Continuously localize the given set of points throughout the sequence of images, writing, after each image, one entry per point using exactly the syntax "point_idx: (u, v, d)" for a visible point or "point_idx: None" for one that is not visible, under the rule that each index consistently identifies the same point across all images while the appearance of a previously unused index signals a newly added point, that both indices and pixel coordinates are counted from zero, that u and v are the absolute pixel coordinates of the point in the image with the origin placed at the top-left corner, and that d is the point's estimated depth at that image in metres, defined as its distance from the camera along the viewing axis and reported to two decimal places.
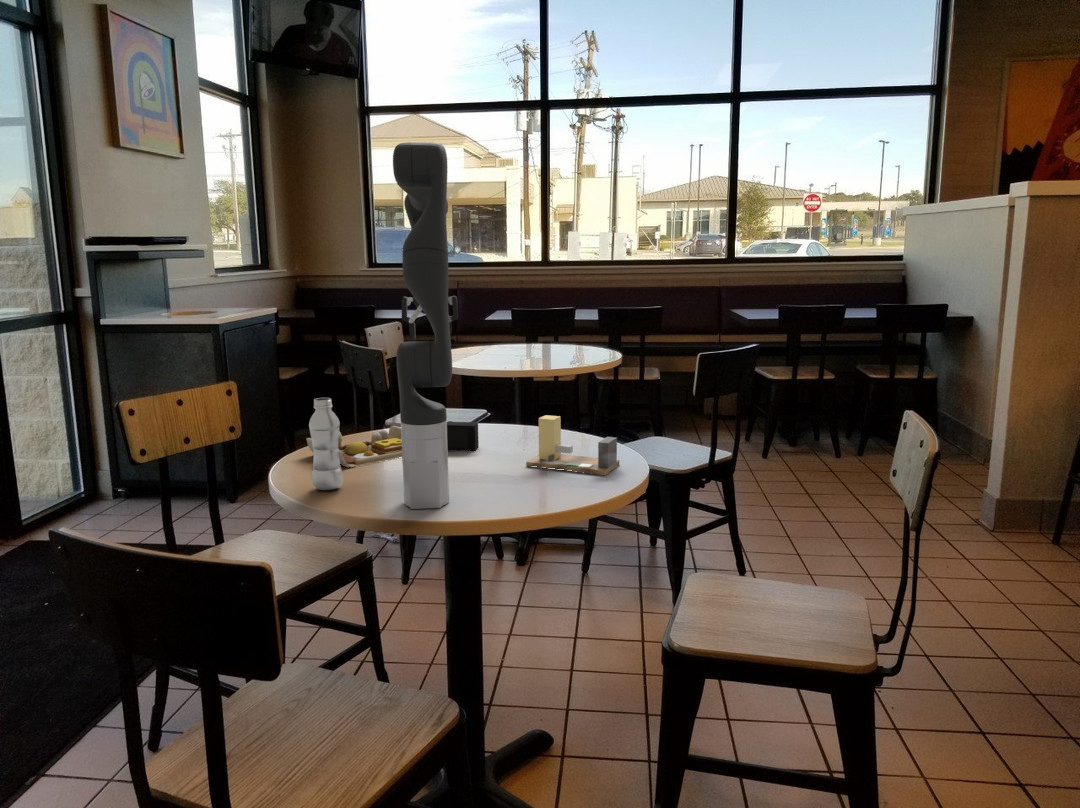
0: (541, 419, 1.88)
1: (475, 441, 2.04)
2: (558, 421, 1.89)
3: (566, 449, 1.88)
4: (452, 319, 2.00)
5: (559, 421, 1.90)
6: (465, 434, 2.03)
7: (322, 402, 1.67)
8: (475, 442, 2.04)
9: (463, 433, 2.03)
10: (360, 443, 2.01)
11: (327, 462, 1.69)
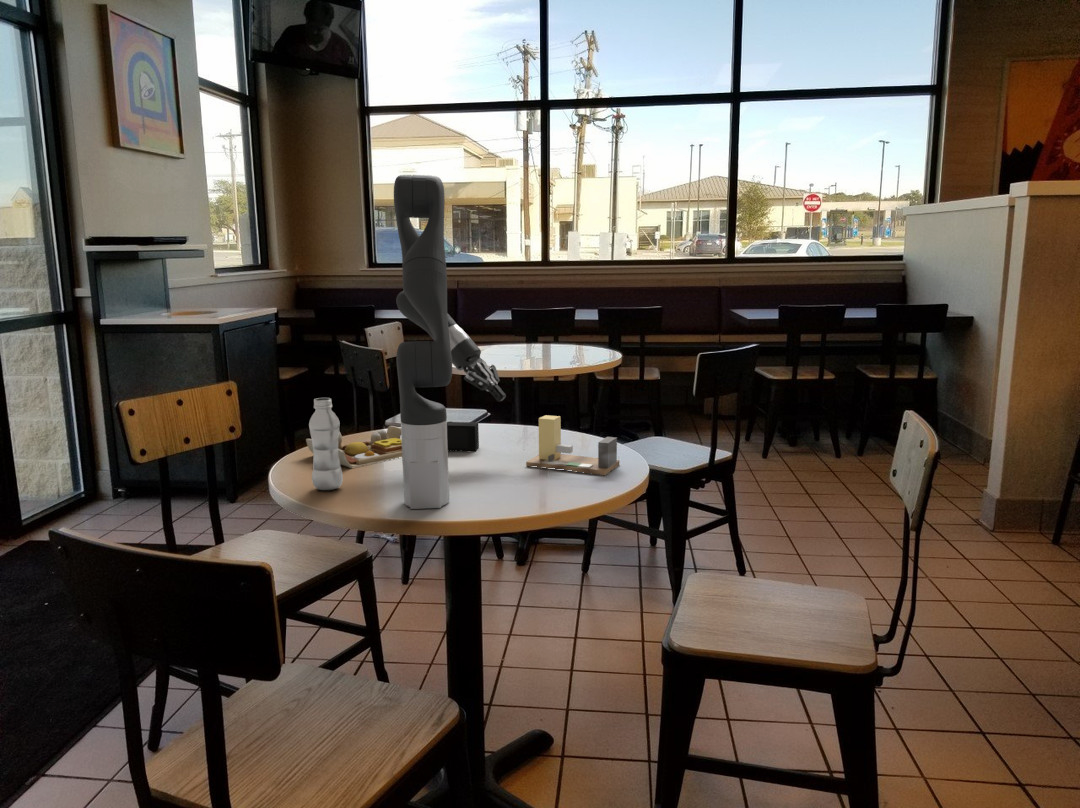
0: (541, 419, 1.88)
1: (476, 441, 2.04)
2: (558, 421, 1.89)
3: (566, 449, 1.88)
4: None
5: (559, 421, 1.90)
6: (466, 434, 2.03)
7: (322, 402, 1.67)
8: (476, 442, 2.04)
9: (464, 433, 2.03)
10: (360, 443, 2.01)
11: (327, 462, 1.69)
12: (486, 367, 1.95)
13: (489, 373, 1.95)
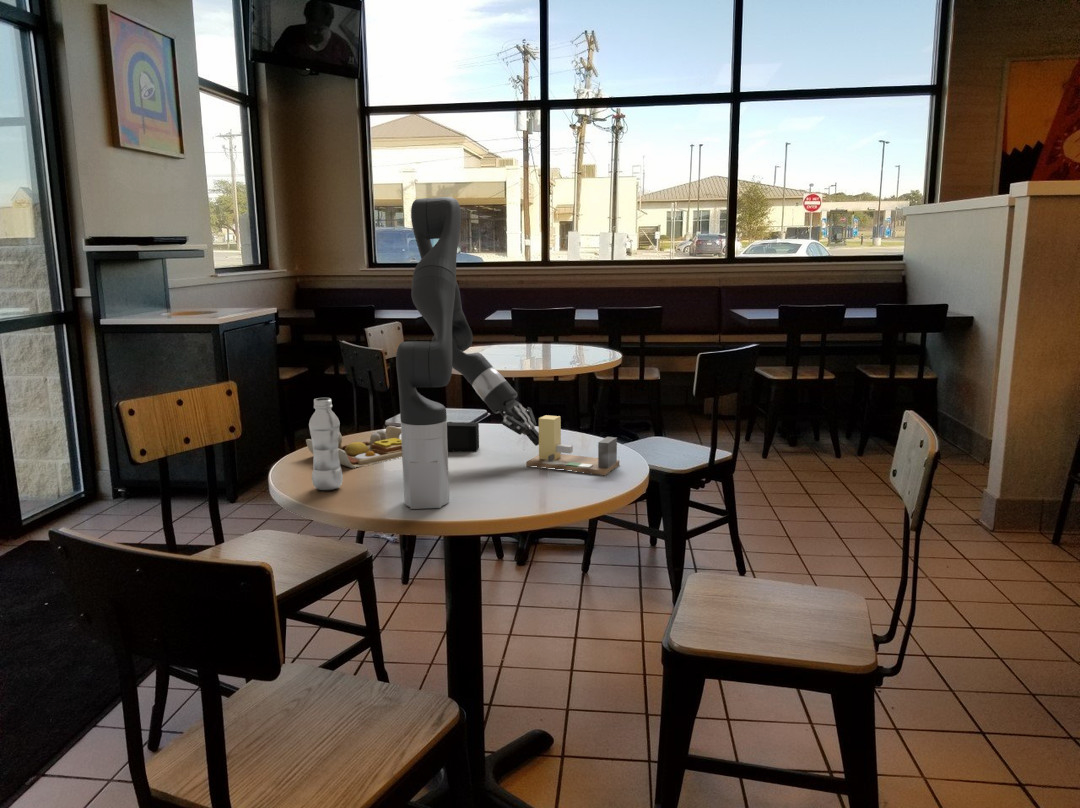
0: (541, 419, 1.88)
1: (476, 441, 2.04)
2: (558, 421, 1.89)
3: (566, 449, 1.88)
4: None
5: (559, 421, 1.90)
6: (466, 434, 2.03)
7: (322, 402, 1.67)
8: (476, 442, 2.04)
9: (465, 433, 2.03)
10: (360, 443, 2.01)
11: (327, 462, 1.69)
12: (523, 410, 1.93)
13: (526, 416, 1.92)
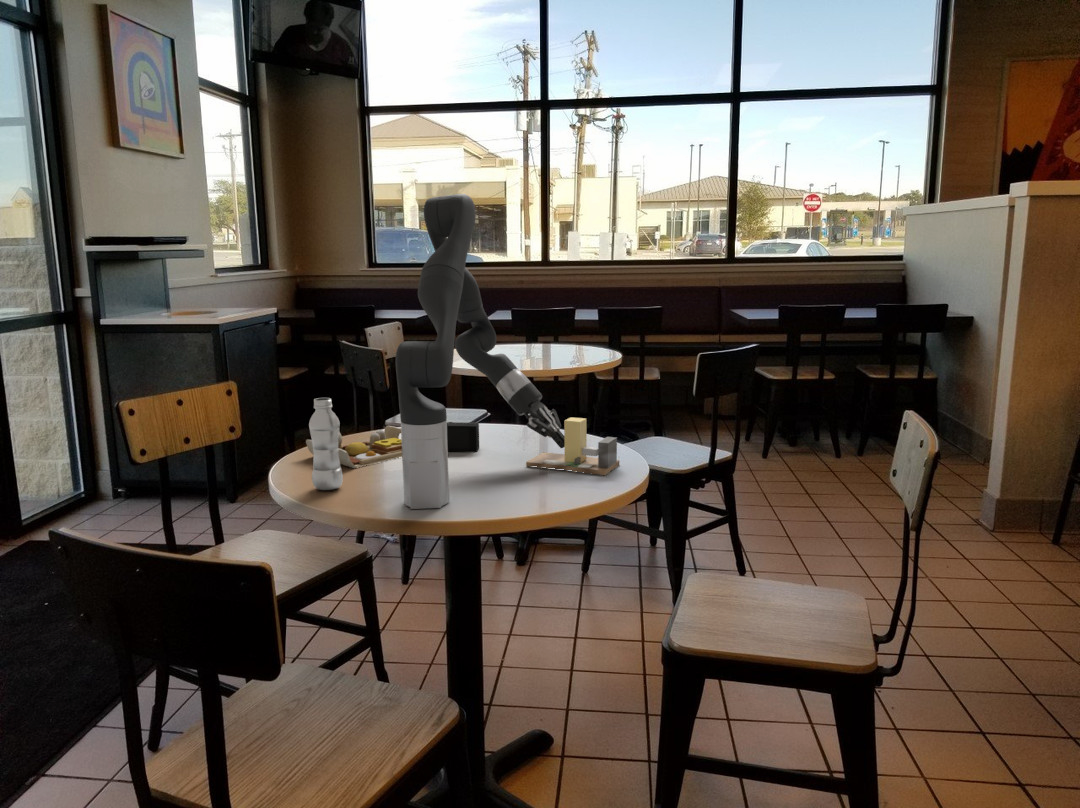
0: (567, 421, 1.85)
1: (477, 441, 2.03)
2: (584, 423, 1.86)
3: (592, 452, 1.85)
4: None
5: (585, 423, 1.87)
6: (467, 435, 2.03)
7: (322, 402, 1.67)
8: (477, 442, 2.03)
9: (465, 433, 2.03)
10: (360, 443, 2.01)
11: (327, 462, 1.69)
12: (548, 412, 1.90)
13: (551, 419, 1.90)
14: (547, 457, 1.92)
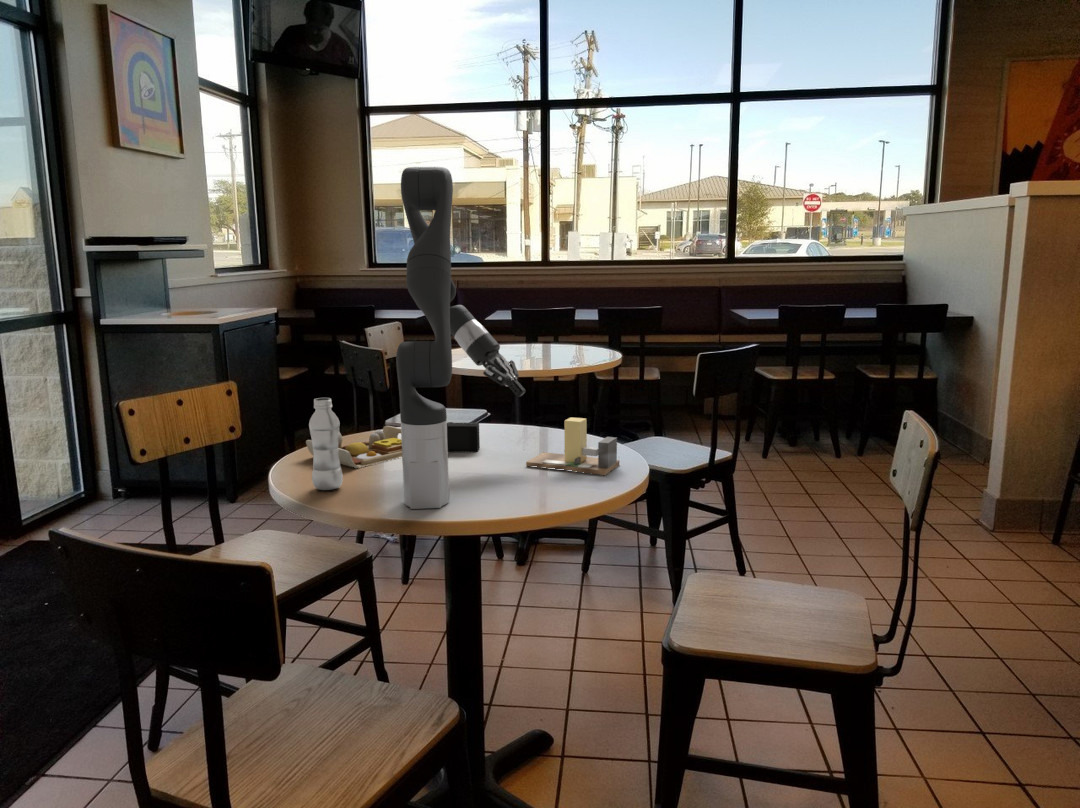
0: (567, 421, 1.85)
1: (477, 442, 2.03)
2: (584, 423, 1.86)
3: (592, 452, 1.85)
4: None
5: (585, 423, 1.87)
6: (467, 435, 2.02)
7: (322, 402, 1.67)
8: (477, 443, 2.03)
9: (466, 433, 2.03)
10: (360, 444, 2.01)
11: (327, 462, 1.69)
12: (505, 362, 1.93)
13: (508, 368, 1.92)
14: (547, 457, 1.92)
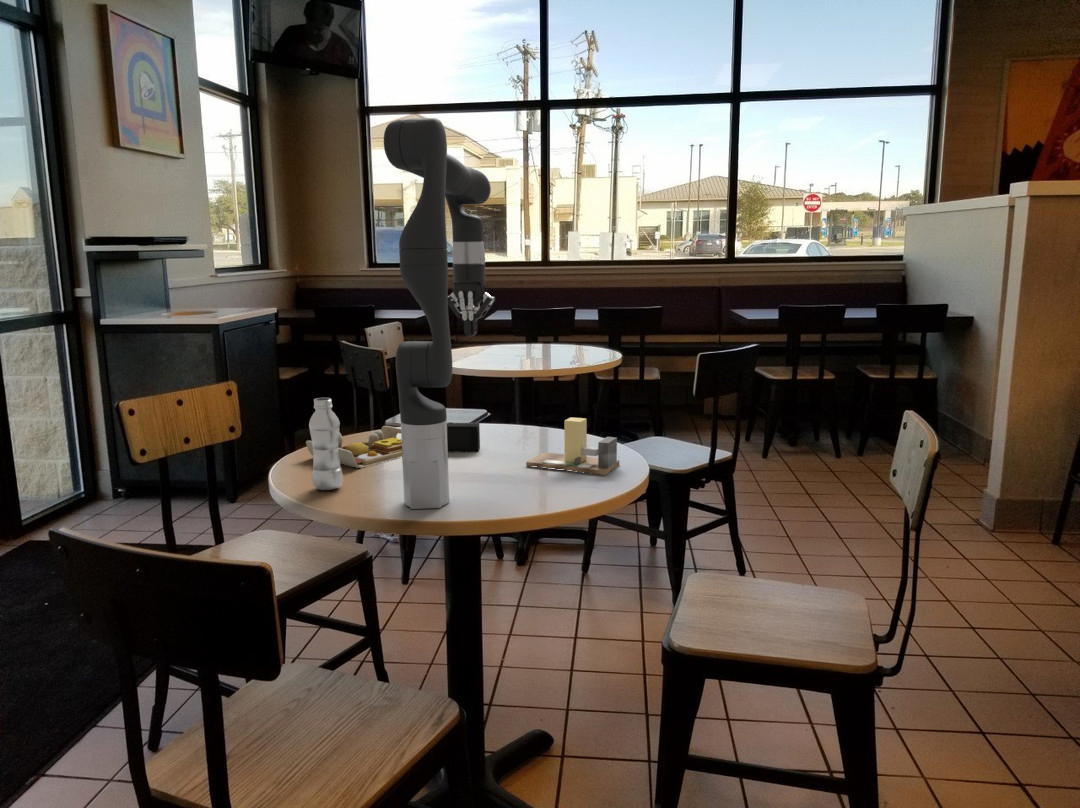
0: (567, 421, 1.85)
1: (478, 442, 2.03)
2: (584, 423, 1.86)
3: (592, 452, 1.85)
4: (475, 317, 1.85)
5: (585, 423, 1.87)
6: (468, 435, 2.02)
7: (322, 402, 1.67)
8: (478, 443, 2.03)
9: (466, 434, 2.02)
10: (361, 444, 2.00)
11: (327, 462, 1.69)
12: (470, 299, 1.83)
13: (468, 306, 1.84)
14: (547, 457, 1.92)
